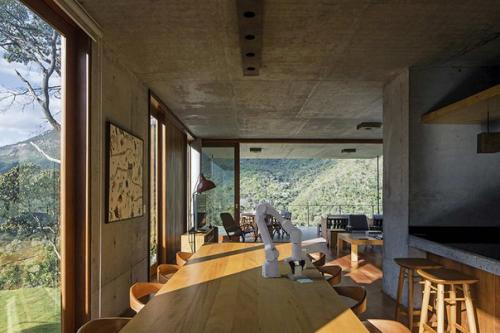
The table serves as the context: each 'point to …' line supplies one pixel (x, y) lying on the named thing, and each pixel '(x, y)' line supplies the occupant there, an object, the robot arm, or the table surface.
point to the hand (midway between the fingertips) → (297, 273)
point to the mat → (305, 281)
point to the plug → (298, 270)
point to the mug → (304, 254)
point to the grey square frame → (296, 277)
